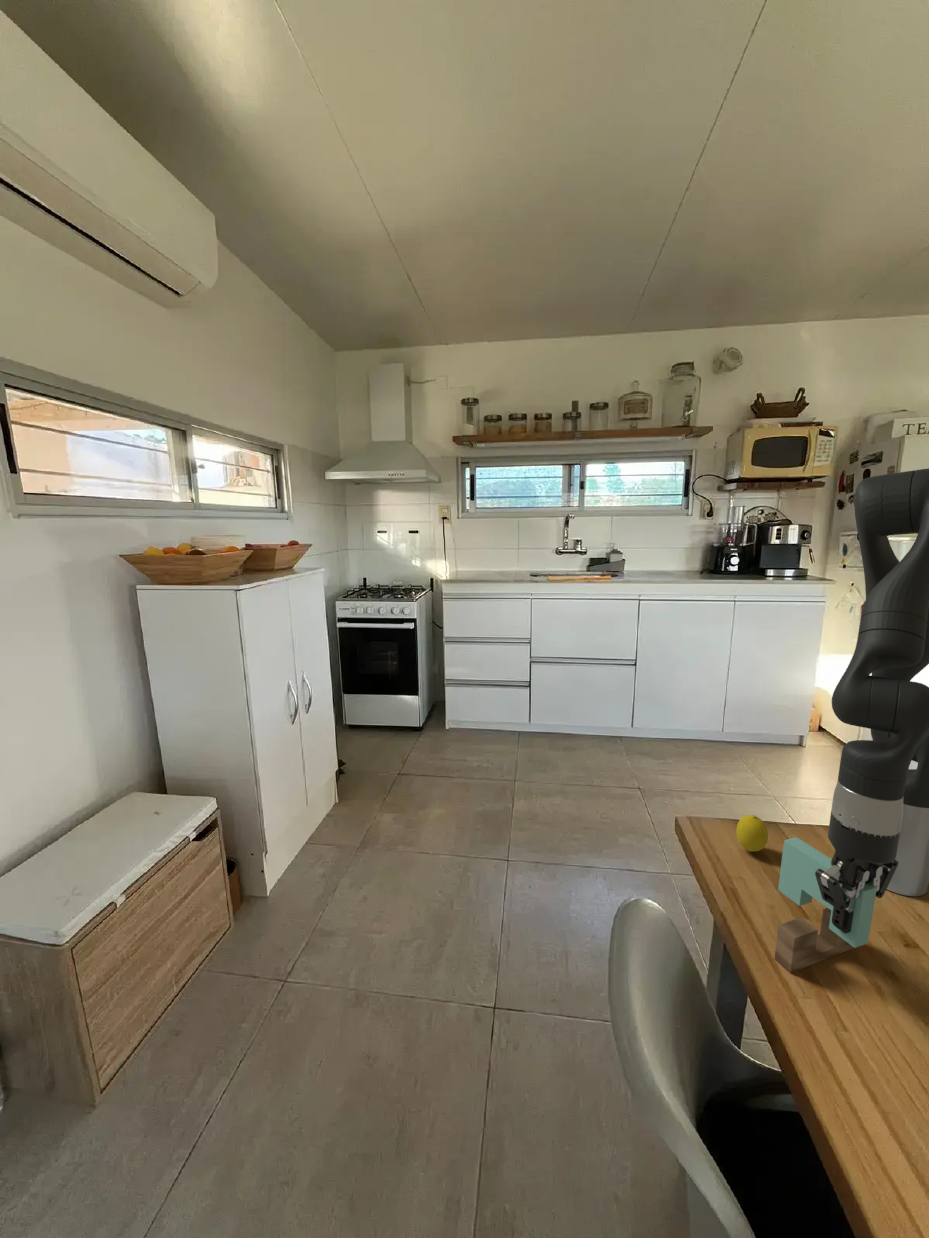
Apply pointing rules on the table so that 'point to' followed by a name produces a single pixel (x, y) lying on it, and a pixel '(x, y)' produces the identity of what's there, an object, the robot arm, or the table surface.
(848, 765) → the robot arm
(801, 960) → the brown wooden u-shaped block
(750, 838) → the lemon
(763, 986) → the table surface
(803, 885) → the teal arch block
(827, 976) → the table surface
